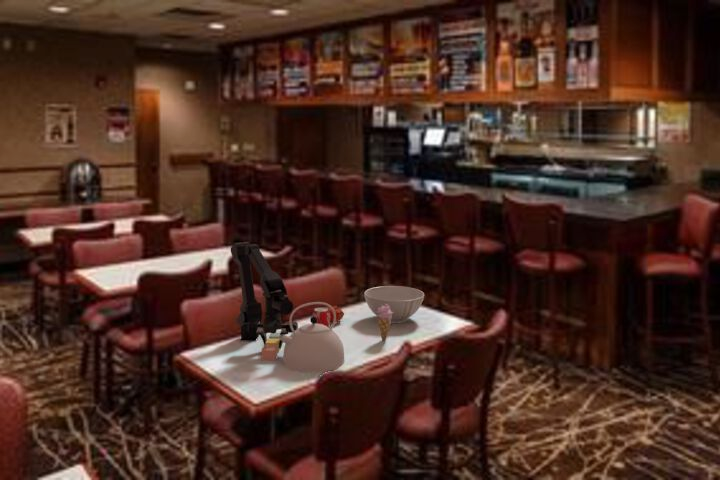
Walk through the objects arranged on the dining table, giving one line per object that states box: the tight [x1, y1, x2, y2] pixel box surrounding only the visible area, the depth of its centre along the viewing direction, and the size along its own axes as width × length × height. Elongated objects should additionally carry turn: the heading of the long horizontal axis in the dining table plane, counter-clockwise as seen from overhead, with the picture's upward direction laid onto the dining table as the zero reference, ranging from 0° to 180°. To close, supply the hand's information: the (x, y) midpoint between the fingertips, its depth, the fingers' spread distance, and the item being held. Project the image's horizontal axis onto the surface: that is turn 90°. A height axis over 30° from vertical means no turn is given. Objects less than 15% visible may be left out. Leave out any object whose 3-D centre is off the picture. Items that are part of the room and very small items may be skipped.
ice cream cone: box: [375, 304, 393, 342], centre depth 274 cm, size 7×6×15 cm
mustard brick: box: [264, 338, 282, 354], centre depth 262 cm, size 5×5×4 cm
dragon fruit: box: [323, 305, 345, 325], centre depth 298 cm, size 8×8×12 cm
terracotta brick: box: [261, 345, 278, 361], centre depth 254 cm, size 5×5×4 cm
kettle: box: [278, 301, 346, 373], centre depth 249 cm, size 25×23×23 cm
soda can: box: [312, 307, 331, 328], centre depth 277 cm, size 7×7×12 cm
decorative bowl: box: [363, 285, 425, 324], centre depth 304 cm, size 27×27×12 cm
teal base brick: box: [268, 332, 284, 347], centre depth 270 cm, size 5×5×4 cm
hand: (273, 348), depth 262 cm, fingers closed on mustard brick, 5 cm apart
